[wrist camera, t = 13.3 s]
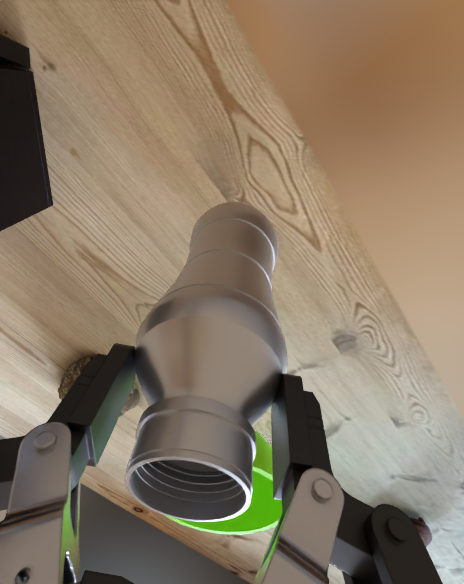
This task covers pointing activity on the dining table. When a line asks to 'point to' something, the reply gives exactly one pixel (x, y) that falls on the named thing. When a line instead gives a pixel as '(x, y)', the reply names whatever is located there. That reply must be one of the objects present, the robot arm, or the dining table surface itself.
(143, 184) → the dining table surface
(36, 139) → the oven
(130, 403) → the bread roll
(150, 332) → the silver bottle
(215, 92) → the dining table surface
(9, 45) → the oven door
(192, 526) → the wineglass
